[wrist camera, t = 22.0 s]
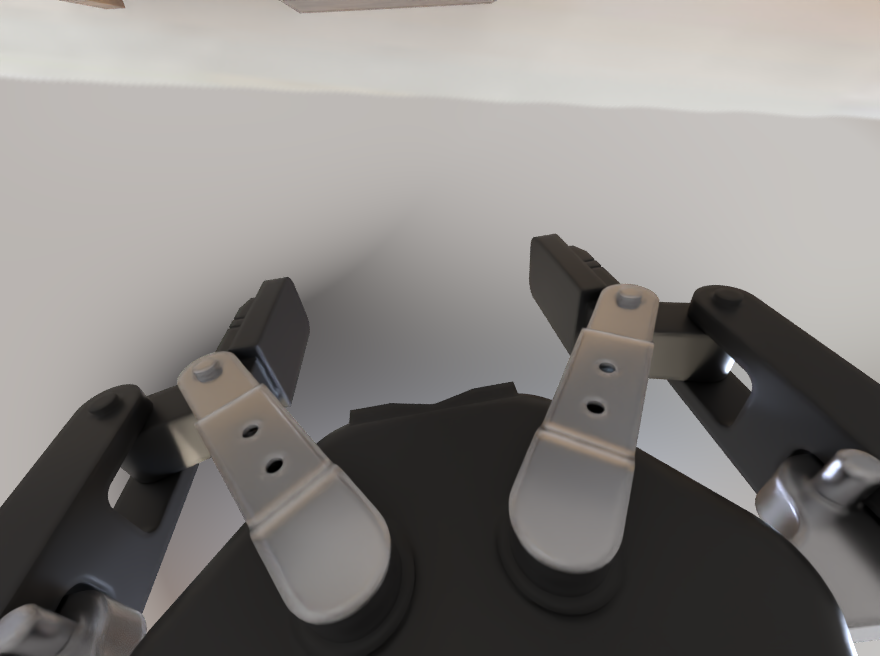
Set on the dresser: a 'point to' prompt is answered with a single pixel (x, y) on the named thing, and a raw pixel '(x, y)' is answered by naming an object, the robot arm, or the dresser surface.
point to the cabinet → (370, 4)
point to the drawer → (100, 3)
